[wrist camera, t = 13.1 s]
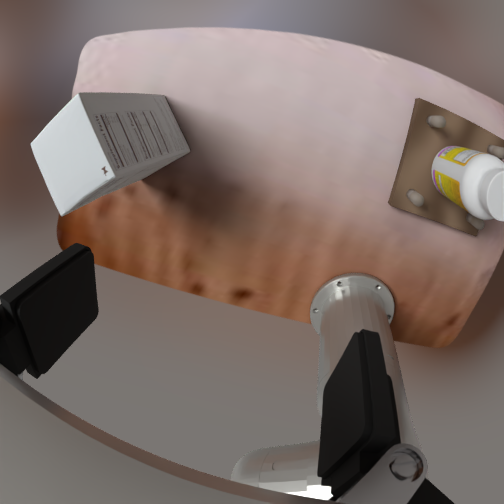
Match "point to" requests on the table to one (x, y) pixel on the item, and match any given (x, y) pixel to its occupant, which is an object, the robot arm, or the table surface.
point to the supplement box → (105, 145)
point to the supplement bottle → (471, 181)
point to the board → (421, 159)
